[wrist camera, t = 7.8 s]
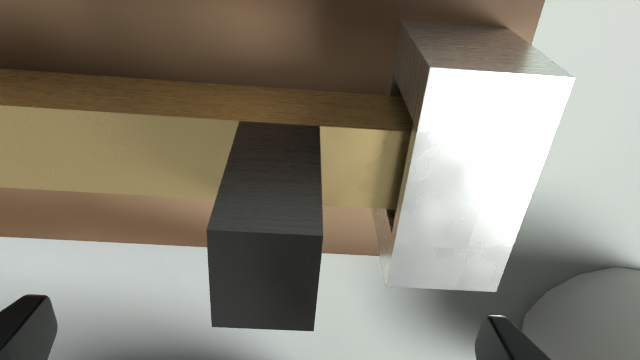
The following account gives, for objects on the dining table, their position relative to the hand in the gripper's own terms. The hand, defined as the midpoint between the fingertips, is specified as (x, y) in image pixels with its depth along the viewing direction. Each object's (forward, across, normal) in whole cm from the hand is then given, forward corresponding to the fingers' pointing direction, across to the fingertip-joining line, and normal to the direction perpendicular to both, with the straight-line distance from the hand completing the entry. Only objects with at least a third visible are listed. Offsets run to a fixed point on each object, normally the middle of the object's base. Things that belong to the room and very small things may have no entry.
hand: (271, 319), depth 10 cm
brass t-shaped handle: (+10, +5, 0) cm, 11 cm away
